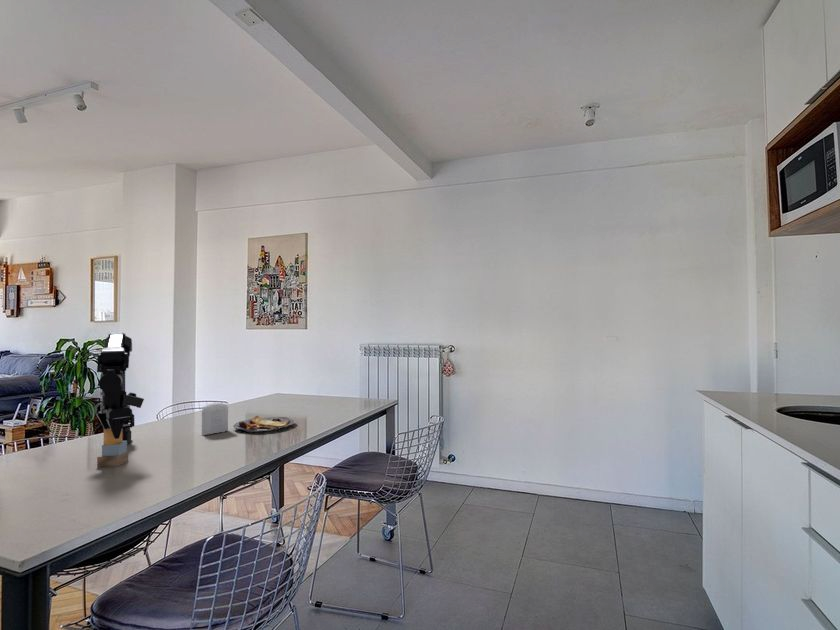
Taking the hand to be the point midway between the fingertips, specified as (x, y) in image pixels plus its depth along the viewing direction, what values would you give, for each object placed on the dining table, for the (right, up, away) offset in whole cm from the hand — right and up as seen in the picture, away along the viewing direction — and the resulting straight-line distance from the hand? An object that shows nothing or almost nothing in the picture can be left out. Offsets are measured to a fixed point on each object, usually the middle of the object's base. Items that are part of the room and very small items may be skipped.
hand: (112, 436), depth 142 cm
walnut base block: (0, -9, 0) cm, 9 cm away
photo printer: (+15, -10, +40) cm, 44 cm away
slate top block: (0, -6, 0) cm, 6 cm away
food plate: (+32, -10, +49) cm, 59 cm away
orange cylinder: (0, -2, 0) cm, 2 cm away
